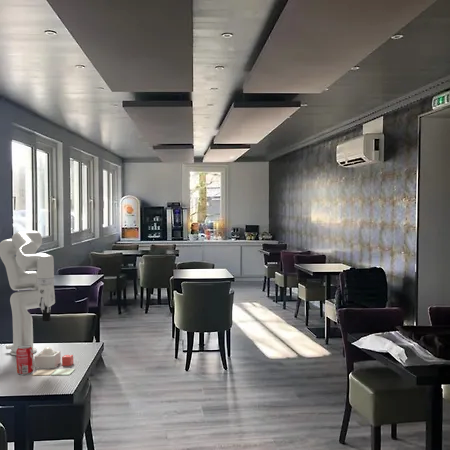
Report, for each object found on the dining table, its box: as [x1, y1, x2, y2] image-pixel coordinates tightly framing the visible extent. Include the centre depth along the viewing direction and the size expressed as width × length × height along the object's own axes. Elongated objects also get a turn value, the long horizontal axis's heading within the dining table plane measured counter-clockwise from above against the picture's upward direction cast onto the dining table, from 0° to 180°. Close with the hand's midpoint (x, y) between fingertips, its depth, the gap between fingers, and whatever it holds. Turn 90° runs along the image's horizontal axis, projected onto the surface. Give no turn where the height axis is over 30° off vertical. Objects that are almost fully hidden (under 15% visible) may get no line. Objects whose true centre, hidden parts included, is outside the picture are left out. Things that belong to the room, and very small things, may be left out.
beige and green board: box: [31, 368, 76, 377], centre depth 238 cm, size 16×8×1 cm, turn 89°
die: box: [61, 354, 74, 367], centre depth 251 cm, size 4×4×4 cm
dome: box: [39, 346, 56, 356], centre depth 250 cm, size 6×6×5 cm
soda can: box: [15, 345, 34, 376], centre depth 238 cm, size 7×7×12 cm
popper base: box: [34, 350, 62, 369], centre depth 250 cm, size 9×9×6 cm
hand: (46, 320), depth 249 cm, fingers closed
